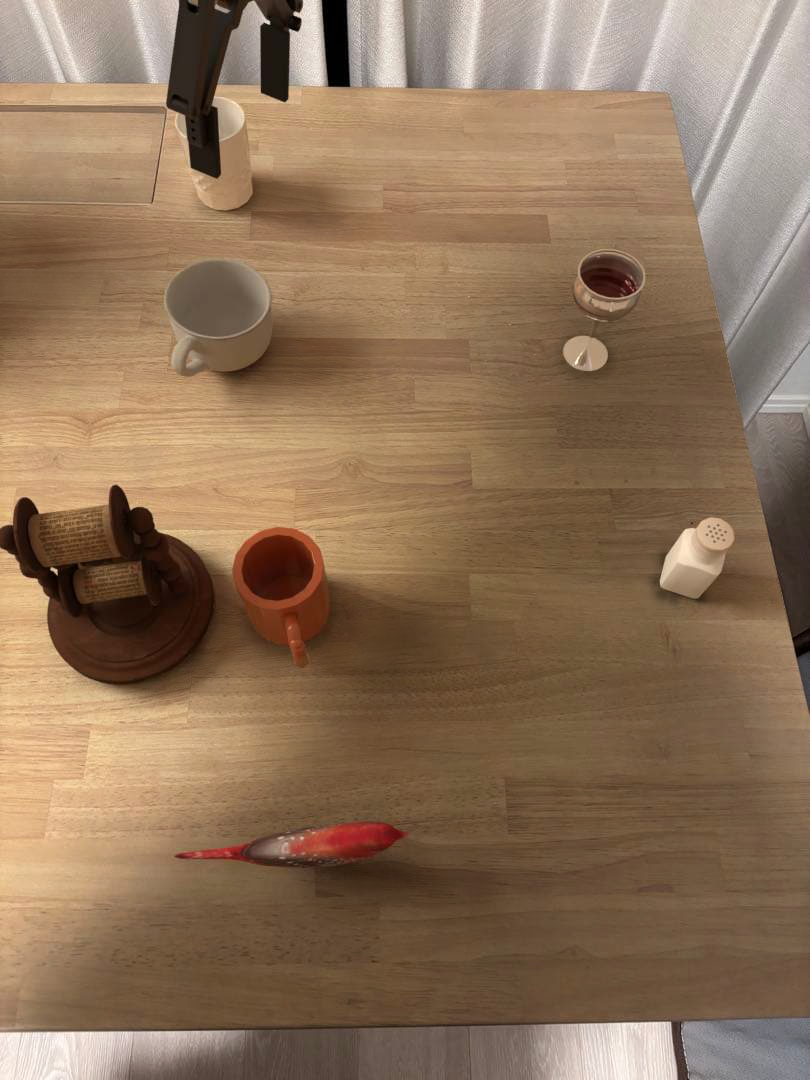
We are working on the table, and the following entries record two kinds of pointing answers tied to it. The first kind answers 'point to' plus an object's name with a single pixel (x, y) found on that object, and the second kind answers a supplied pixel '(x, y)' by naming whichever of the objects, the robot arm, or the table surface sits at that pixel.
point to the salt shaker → (697, 558)
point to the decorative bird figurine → (310, 846)
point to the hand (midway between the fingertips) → (241, 132)
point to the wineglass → (602, 301)
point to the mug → (283, 587)
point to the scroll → (113, 588)
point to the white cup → (224, 159)
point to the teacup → (218, 316)
